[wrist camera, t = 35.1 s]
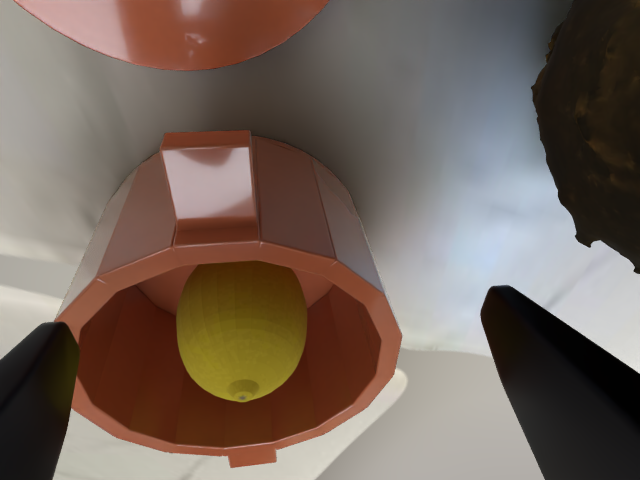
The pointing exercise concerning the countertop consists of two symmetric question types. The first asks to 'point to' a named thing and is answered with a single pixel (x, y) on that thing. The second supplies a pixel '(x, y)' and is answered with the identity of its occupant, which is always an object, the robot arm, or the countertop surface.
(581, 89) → the pottery vessel
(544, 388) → the robot arm
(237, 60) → the lid
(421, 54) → the countertop surface
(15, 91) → the countertop surface
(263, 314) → the lemon
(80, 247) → the countertop surface
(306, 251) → the pot
